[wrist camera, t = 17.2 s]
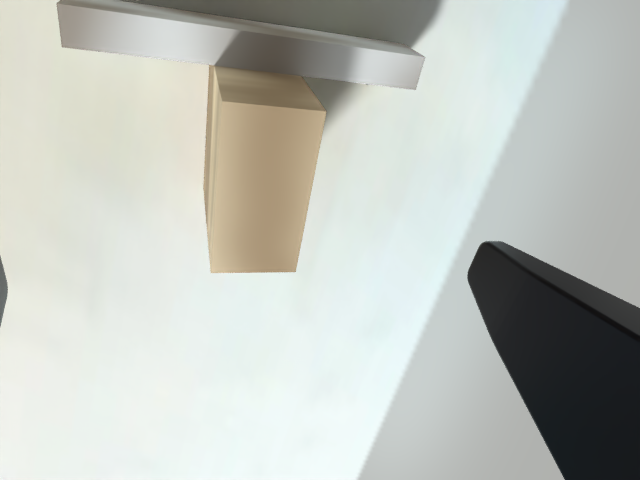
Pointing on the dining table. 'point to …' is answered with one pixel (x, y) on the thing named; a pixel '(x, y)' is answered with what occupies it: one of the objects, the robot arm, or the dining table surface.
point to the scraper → (247, 111)
